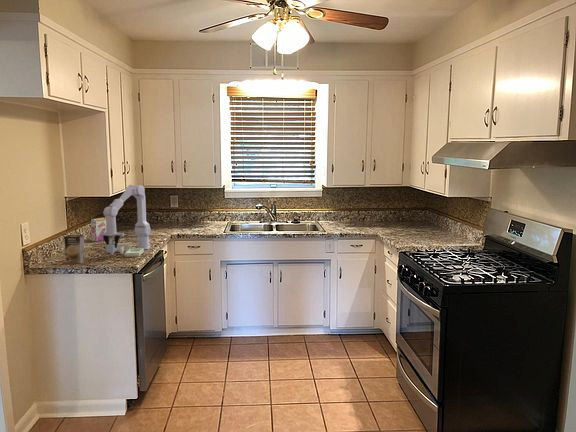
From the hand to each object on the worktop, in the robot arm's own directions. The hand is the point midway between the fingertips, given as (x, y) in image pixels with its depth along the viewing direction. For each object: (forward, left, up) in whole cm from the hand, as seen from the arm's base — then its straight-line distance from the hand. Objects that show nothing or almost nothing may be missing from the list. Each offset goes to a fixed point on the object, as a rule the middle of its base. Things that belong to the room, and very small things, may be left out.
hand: (112, 247), depth 278 cm
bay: (-13, 0, -6) cm, 14 cm away
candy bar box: (-56, -24, -6) cm, 62 cm away
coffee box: (+13, -18, -6) cm, 23 cm away
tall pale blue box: (+1, 0, -2) cm, 2 cm away
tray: (-5, +12, -6) cm, 14 cm away
